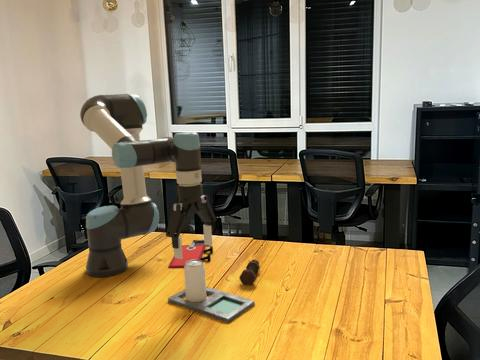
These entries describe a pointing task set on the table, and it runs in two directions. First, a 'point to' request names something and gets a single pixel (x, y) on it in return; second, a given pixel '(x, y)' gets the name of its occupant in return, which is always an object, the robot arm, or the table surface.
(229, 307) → the pad
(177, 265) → the red board with handle
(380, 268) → the table surface
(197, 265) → the can
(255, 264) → the bolt
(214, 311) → the grey flat frame
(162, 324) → the table surface
